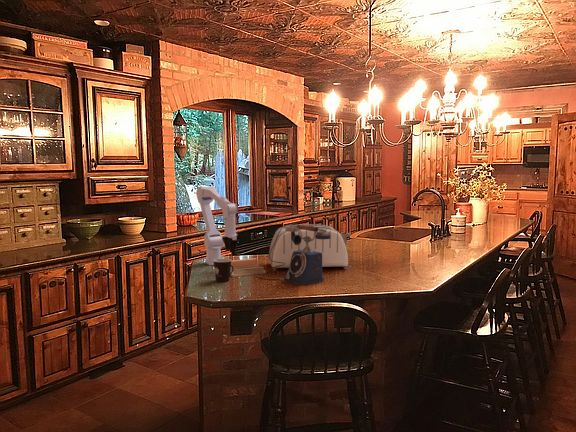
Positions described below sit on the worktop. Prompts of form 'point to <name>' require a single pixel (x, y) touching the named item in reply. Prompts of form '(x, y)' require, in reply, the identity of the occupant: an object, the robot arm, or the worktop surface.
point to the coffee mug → (222, 269)
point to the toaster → (330, 248)
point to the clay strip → (244, 262)
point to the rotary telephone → (303, 258)
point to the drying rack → (247, 270)
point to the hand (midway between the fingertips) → (230, 251)
